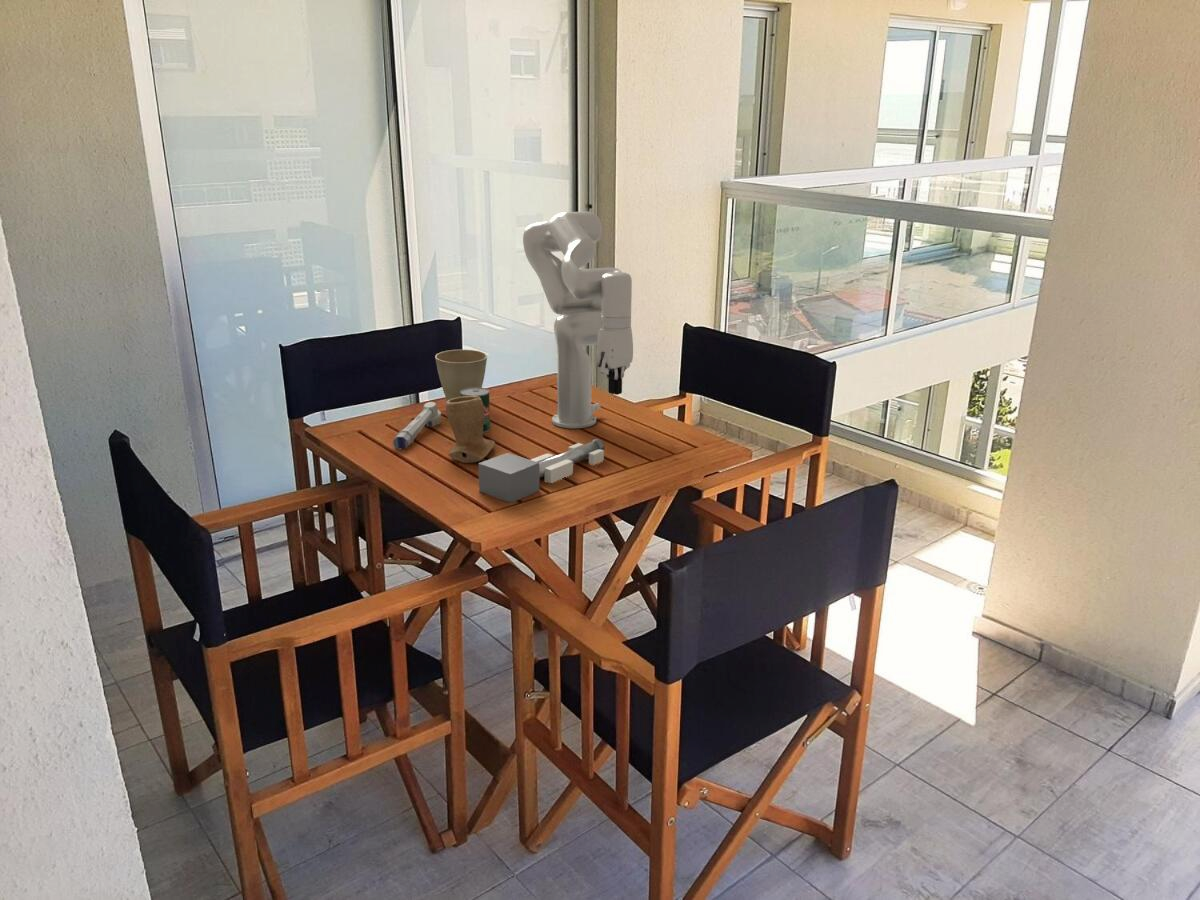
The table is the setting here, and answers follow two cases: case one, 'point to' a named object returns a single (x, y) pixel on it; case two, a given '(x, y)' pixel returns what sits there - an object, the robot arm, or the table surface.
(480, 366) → the plant pot
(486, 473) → the socket block
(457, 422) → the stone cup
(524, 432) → the table surface
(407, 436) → the white handheld tool
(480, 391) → the canned tomato
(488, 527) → the table surface
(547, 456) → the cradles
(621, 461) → the table surface
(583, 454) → the slip tube
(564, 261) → the robot arm
